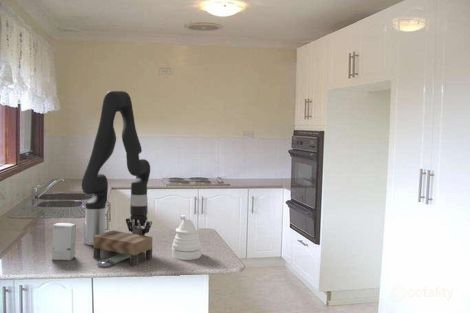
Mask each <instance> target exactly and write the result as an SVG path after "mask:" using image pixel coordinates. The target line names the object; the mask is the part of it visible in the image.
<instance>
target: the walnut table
mask: <svg viewBox="0 0 470 313" xmlns="http://www.w3.org/2000/svg"><path fill="white" fill-rule="evenodd" d="M101 250H106V251H109V253H112V254H113V253H114V254H115V253H119V254H122V253H125V254H130V257H129V258H130V261H129V262H130V266H131V267H135V266H137V265H138V255H139V254H142V253H144V252H145V260H148V261H149V260H152V259H153V237H152V236H147V235H145V236H143V235H137V234H133V233H132V232H131V233H130V232H124V231H119V230H110V231H107V232H106V233H102V234H99V235H96V236H94V245H93V258H94V259H100V258H101Z"/></svg>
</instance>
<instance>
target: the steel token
mask: <svg viewBox="0 0 470 313" xmlns="http://www.w3.org/2000/svg"><path fill="white" fill-rule="evenodd" d="M113 265H114V264H113V261H112V260H106V259H101V260H98V261H97V267H99V268H110V267H112V266H113Z"/></svg>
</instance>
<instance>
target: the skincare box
mask: <svg viewBox="0 0 470 313" xmlns="http://www.w3.org/2000/svg"><path fill="white" fill-rule="evenodd" d="M76 234H77V223H69V222H57V223H54V224H53V225H52V238H51V239H52V242H51V243H52V244H51V260H53V261H71V260H73V259H75V257H76V240H77V239H76V237H77V235H76Z"/></svg>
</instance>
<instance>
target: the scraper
mask: <svg viewBox="0 0 470 313" xmlns="http://www.w3.org/2000/svg"><path fill="white" fill-rule="evenodd" d="M132 234H137V235H140V230H139V228H137V229H134V230H133V233H132ZM128 258H130V254H125V253H119V254H116V255H114V256H112V257H110V258H107V259H105V260H112V261H113V265H114V264H117V263H119V262H121V261H124V260H126V259H128Z"/></svg>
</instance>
